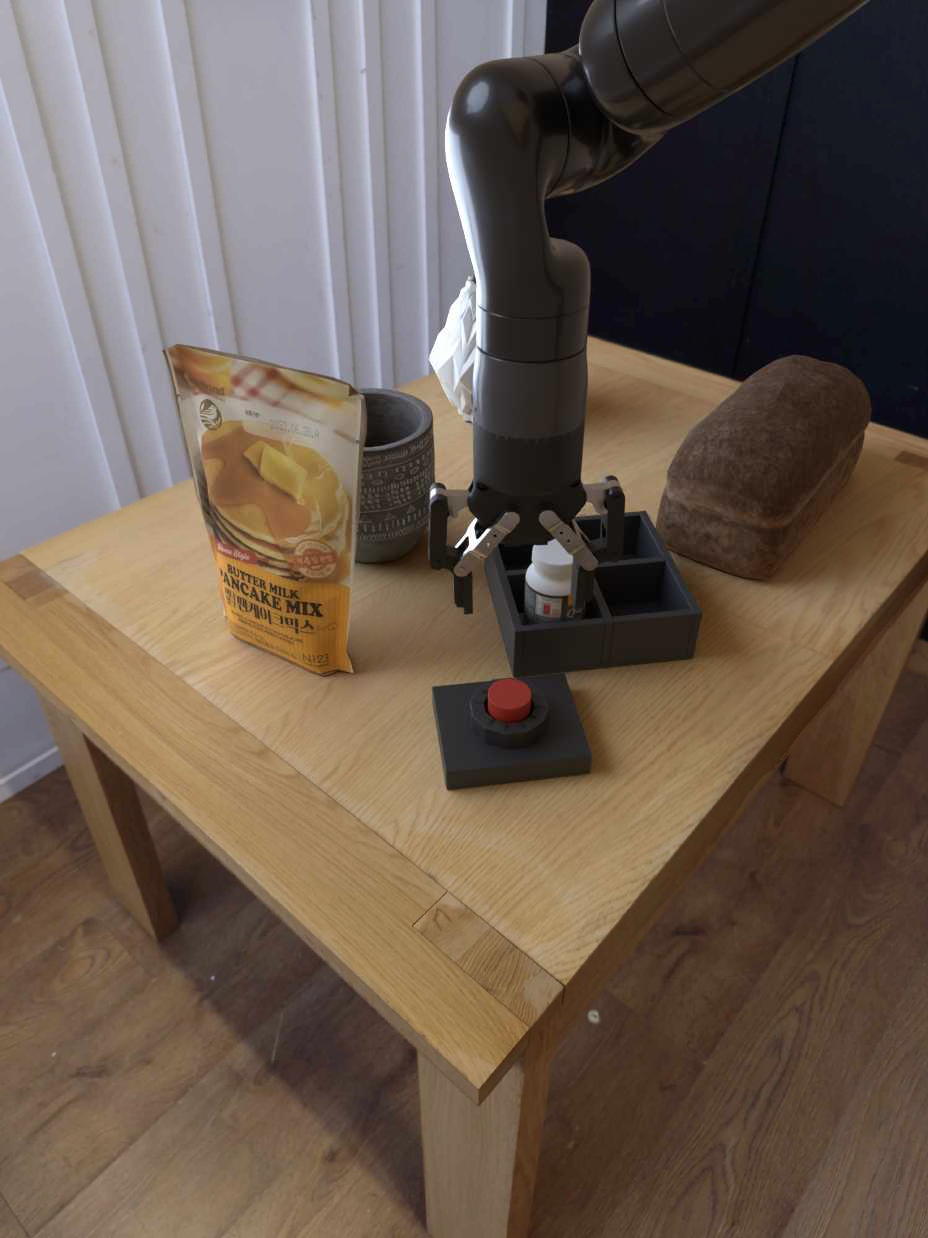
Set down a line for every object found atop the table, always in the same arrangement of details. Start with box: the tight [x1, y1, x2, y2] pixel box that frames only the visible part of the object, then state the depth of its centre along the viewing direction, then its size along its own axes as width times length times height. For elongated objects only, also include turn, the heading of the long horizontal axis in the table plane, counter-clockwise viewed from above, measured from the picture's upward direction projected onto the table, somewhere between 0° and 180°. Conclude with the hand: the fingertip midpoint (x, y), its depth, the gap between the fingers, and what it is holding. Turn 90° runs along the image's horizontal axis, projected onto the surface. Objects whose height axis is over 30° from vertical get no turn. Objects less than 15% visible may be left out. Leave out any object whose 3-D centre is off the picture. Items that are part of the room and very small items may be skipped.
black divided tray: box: [483, 510, 703, 678], centre depth 88 cm, size 17×17×6 cm
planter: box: [354, 387, 436, 564], centre depth 95 cm, size 14×14×15 cm
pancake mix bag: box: [161, 343, 367, 677], centre depth 78 cm, size 7×19×28 cm, turn 58°
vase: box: [428, 275, 476, 424], centre depth 117 cm, size 16×16×18 cm
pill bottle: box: [524, 539, 585, 625], centre depth 82 cm, size 6×6×10 cm
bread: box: [655, 354, 873, 581], centre depth 99 cm, size 15×32×16 cm, turn 143°
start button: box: [488, 679, 531, 723], centre depth 73 cm, size 4×4×2 cm
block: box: [431, 672, 593, 791], centre depth 75 cm, size 12×10×4 cm
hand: (522, 605), depth 69 cm, fingers open, 8 cm apart
